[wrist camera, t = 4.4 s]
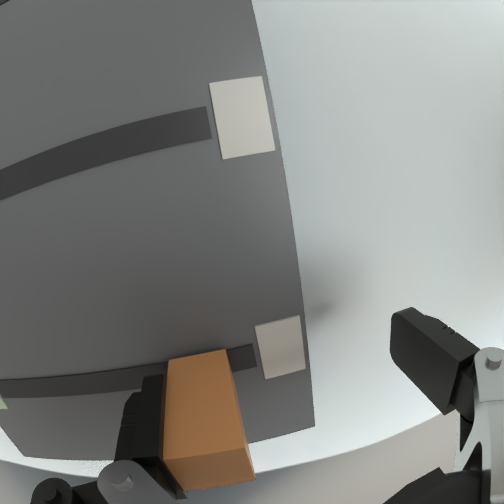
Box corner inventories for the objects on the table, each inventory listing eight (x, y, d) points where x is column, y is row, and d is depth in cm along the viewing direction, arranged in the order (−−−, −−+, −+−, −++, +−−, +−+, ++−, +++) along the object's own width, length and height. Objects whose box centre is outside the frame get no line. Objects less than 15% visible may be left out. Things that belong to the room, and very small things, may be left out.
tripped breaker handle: (225, 348, 10) (244, 447, 6) (234, 383, 11) (255, 479, 7) (168, 359, 10) (161, 459, 6) (181, 393, 11) (182, 490, 6)
